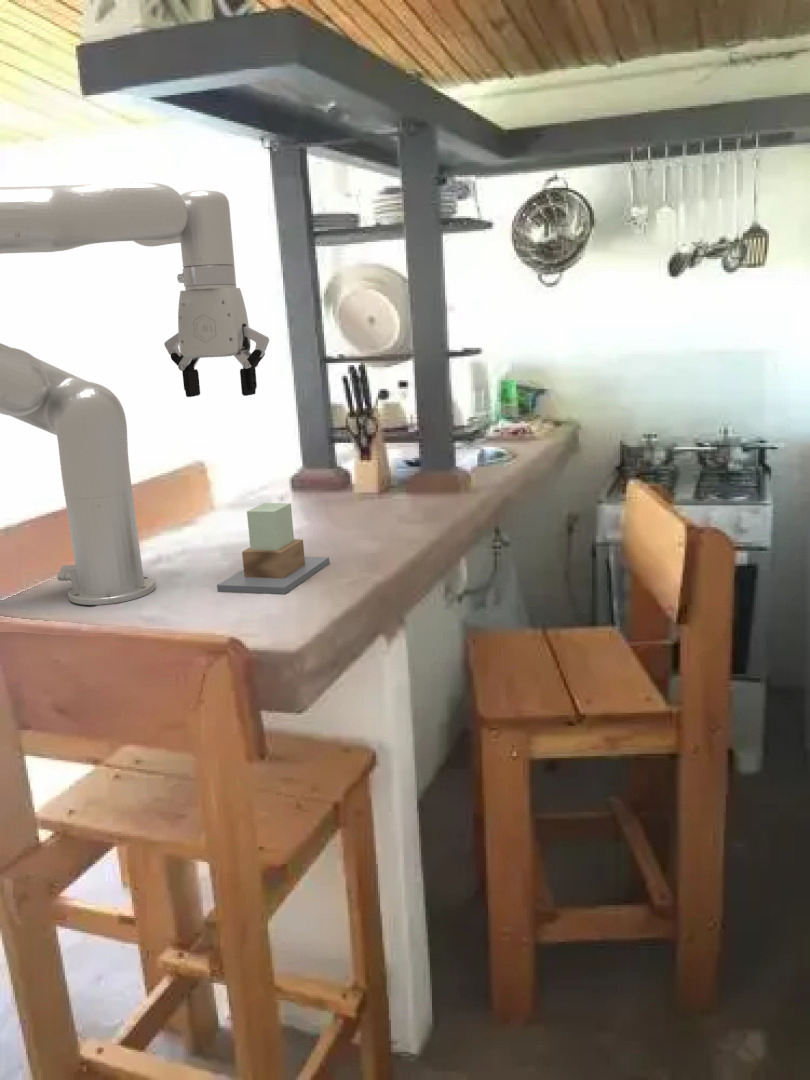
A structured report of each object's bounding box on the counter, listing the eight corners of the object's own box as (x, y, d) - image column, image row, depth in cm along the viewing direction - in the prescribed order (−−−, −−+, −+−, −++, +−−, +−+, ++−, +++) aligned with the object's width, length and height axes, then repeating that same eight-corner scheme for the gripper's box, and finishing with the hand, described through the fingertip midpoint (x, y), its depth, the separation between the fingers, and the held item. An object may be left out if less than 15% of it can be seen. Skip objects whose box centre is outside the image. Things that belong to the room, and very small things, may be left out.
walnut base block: (244, 577, 142) (242, 551, 141) (267, 563, 150) (265, 538, 149) (283, 578, 140) (281, 552, 139) (305, 564, 148) (302, 539, 147)
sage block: (250, 550, 142) (246, 511, 140) (267, 540, 147) (264, 503, 146) (277, 550, 140) (274, 511, 139) (294, 541, 146) (290, 503, 145)
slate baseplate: (217, 591, 139) (216, 585, 139) (267, 561, 155) (267, 555, 154) (285, 594, 136) (284, 587, 135) (329, 563, 151) (329, 557, 151)
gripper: (145, 282, 139) (158, 399, 143) (250, 275, 133) (260, 396, 137) (173, 283, 146) (184, 394, 150) (273, 276, 140) (282, 392, 144)
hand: (220, 395), depth 143 cm, fingers open, 9 cm apart
